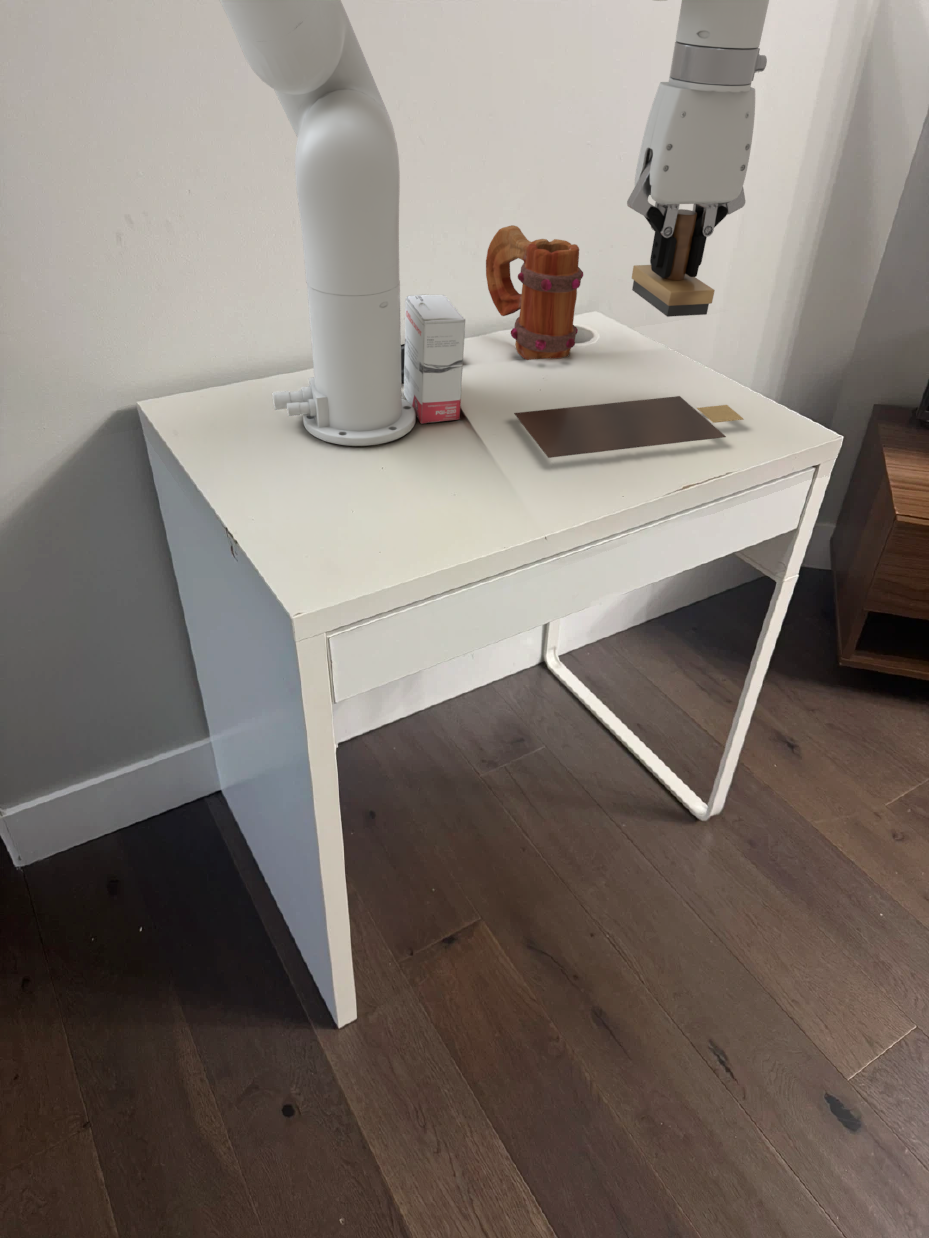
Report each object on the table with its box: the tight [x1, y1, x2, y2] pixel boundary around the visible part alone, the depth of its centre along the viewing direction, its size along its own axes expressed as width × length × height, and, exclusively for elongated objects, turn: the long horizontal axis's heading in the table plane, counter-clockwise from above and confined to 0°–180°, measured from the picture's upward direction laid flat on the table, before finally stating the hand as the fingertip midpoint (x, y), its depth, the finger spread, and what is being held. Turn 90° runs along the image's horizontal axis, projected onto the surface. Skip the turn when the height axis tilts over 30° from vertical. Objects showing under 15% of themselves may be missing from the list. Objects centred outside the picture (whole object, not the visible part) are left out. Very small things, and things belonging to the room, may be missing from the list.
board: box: [514, 395, 727, 459], centre depth 99 cm, size 21×11×1 cm, turn 107°
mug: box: [485, 225, 584, 361], centre depth 113 cm, size 15×8×15 cm, turn 46°
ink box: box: [403, 293, 466, 424], centre depth 99 cm, size 9×5×12 cm, turn 17°
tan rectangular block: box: [696, 404, 744, 424], centre depth 102 cm, size 4×4×1 cm
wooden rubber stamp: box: [631, 208, 715, 318], centre depth 91 cm, size 5×9×9 cm, turn 16°
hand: (673, 272), depth 92 cm, fingers closed on wooden rubber stamp, 2 cm apart
